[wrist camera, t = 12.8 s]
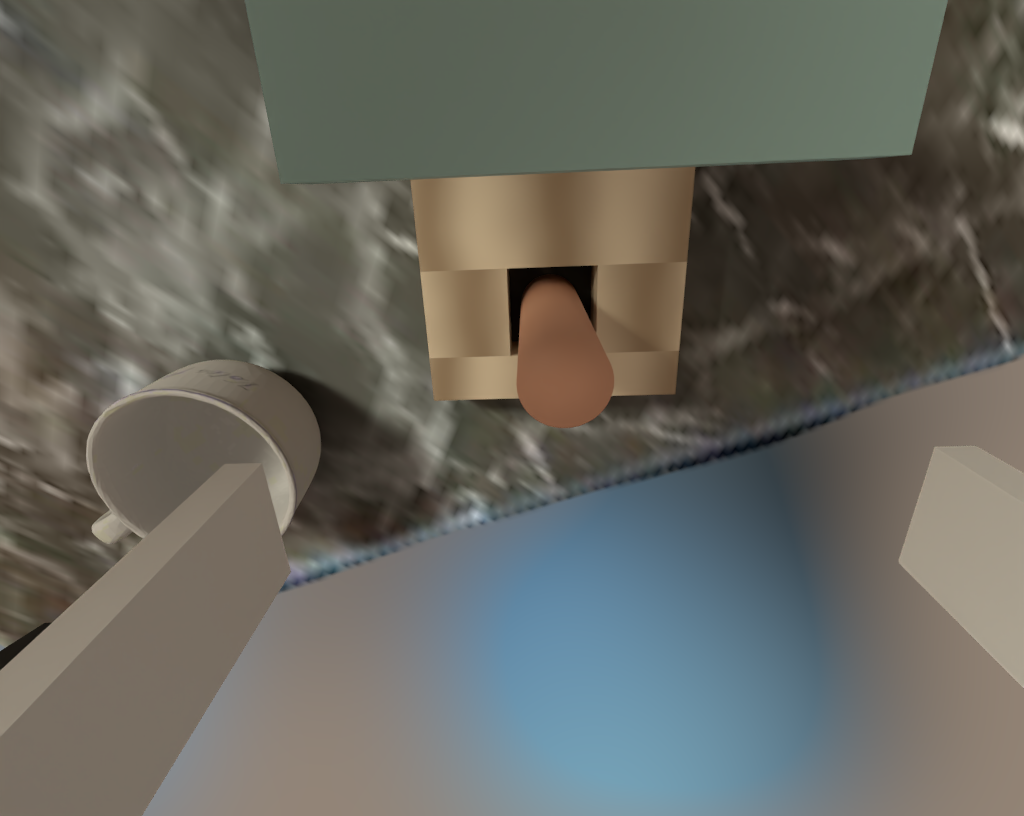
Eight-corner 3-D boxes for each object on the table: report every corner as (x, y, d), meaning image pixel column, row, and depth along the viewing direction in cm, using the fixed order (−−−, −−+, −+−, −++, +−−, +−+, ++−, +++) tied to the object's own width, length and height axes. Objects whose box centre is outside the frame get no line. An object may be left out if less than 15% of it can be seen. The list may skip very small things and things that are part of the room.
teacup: (290, 321, 32) (219, 361, 24) (368, 466, 36) (326, 538, 28) (107, 391, 34) (-9, 447, 27) (199, 521, 38) (120, 601, 31)
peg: (522, 331, 32) (518, 429, 19) (520, 275, 30) (514, 338, 17) (578, 329, 31) (612, 426, 19) (578, 272, 30) (616, 334, 17)
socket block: (442, 383, 33) (434, 400, 30) (417, 137, 28) (405, 131, 25) (662, 376, 32) (675, 394, 30) (682, 124, 27) (699, 117, 24)
